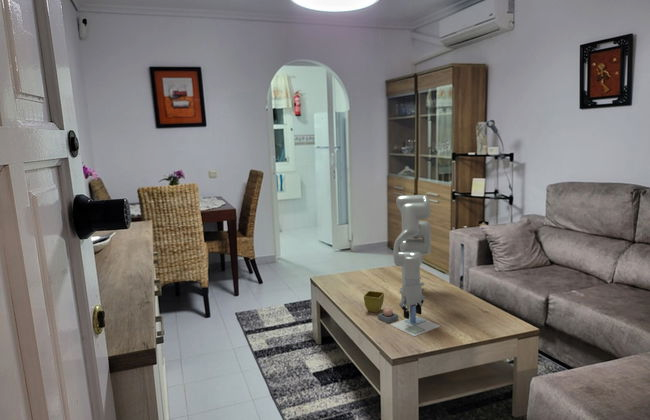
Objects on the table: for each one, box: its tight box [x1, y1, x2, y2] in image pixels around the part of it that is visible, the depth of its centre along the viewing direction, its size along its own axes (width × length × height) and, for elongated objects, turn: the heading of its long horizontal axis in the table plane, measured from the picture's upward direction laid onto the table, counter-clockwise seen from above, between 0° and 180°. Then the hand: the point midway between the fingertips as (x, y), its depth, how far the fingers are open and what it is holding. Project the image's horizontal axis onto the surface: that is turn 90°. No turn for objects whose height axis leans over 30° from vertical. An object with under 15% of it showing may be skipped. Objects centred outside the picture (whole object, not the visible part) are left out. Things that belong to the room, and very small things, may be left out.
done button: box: [383, 307, 394, 317], centre depth 218 cm, size 4×4×3 cm
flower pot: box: [363, 290, 385, 313], centre depth 230 cm, size 9×9×9 cm
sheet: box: [389, 315, 441, 338], centre depth 209 cm, size 17×16×1 cm
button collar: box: [377, 312, 399, 324], centre depth 218 cm, size 7×7×2 cm
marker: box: [409, 304, 417, 323], centre depth 212 cm, size 3×3×10 cm
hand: (412, 315), depth 212 cm, fingers open, 7 cm apart
